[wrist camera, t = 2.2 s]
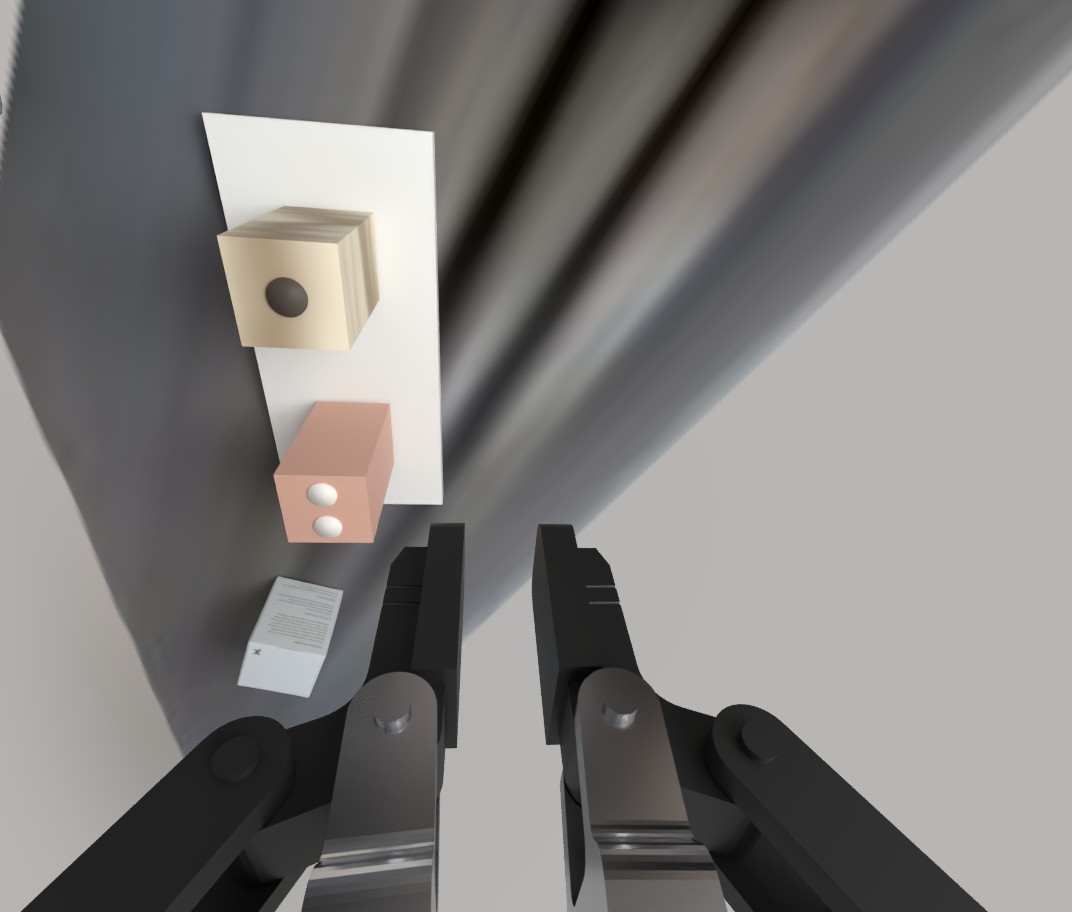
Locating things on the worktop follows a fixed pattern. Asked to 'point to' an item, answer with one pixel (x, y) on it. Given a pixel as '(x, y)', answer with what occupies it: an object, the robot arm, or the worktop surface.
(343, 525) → the key two
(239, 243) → the key one
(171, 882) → the robot arm
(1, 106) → the ceramic mug
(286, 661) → the product box
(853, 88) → the worktop surface
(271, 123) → the keypad board
